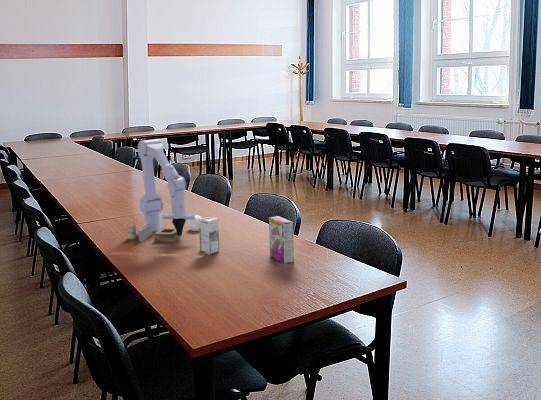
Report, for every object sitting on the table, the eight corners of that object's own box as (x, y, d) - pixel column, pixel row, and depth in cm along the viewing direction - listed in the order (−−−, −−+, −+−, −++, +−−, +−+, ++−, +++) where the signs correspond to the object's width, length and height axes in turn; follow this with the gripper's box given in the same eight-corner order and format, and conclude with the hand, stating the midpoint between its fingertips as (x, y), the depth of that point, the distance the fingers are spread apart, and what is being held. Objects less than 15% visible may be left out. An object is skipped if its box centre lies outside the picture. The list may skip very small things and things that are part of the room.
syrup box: (209, 249, 235) (208, 216, 232) (220, 251, 231) (218, 218, 228) (200, 252, 231) (198, 218, 227) (210, 255, 227) (208, 220, 224)
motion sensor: (186, 233, 259) (185, 217, 258) (191, 229, 267) (190, 213, 265) (202, 234, 258) (202, 218, 256) (207, 229, 265) (206, 214, 264)
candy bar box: (269, 256, 223) (268, 217, 220) (279, 254, 226) (278, 215, 222) (283, 264, 214) (282, 223, 210) (294, 262, 216) (293, 221, 213)
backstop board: (147, 236, 256) (146, 224, 255) (190, 237, 252) (189, 225, 251) (137, 243, 245) (136, 230, 244) (182, 245, 242) (181, 231, 240)
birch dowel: (130, 239, 252) (129, 224, 251) (137, 239, 252) (136, 224, 250) (127, 241, 249) (125, 226, 247) (134, 241, 248) (133, 226, 247)
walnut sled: (162, 235, 254) (162, 227, 253) (181, 235, 252) (180, 228, 251) (154, 241, 244) (153, 233, 244) (174, 241, 243) (173, 234, 242)
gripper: (159, 207, 241) (161, 237, 244) (191, 207, 239) (192, 238, 242) (164, 203, 248) (166, 232, 251) (196, 203, 246) (197, 233, 249)
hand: (180, 235), depth 247 cm, fingers closed
